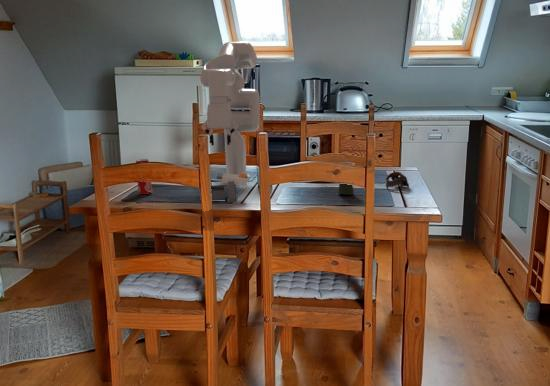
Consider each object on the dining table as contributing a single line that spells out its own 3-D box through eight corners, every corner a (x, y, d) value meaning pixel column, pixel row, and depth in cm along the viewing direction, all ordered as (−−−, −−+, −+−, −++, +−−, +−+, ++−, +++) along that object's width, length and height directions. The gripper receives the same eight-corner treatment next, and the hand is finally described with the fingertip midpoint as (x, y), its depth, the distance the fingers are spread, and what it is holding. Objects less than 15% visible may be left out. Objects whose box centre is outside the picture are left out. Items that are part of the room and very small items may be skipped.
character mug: (354, 197, 237) (354, 166, 234) (336, 197, 238) (336, 166, 235) (354, 191, 247) (354, 161, 244) (337, 191, 248) (337, 161, 245)
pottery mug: (413, 191, 248) (407, 176, 244) (393, 201, 249) (386, 186, 245) (404, 178, 259) (398, 163, 255) (385, 188, 260) (378, 173, 256)
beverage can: (144, 196, 247) (142, 161, 244) (134, 194, 251) (132, 160, 248) (155, 193, 252) (153, 159, 249) (145, 191, 256) (143, 158, 252)
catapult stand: (229, 194, 246) (228, 175, 244) (237, 194, 246) (236, 174, 245) (227, 203, 233) (226, 182, 231) (236, 202, 233) (235, 182, 231)
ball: (238, 179, 240) (239, 170, 239) (246, 180, 240) (248, 172, 239) (237, 180, 236) (239, 172, 235) (246, 182, 236) (247, 174, 236)
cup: (210, 196, 244) (209, 178, 242) (226, 196, 244) (225, 177, 242) (208, 202, 235) (207, 182, 233) (225, 201, 235) (224, 182, 233)
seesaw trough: (217, 175, 247) (218, 167, 246) (249, 179, 248) (249, 171, 247) (215, 182, 234) (216, 173, 234) (248, 185, 235) (249, 177, 234)
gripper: (240, 99, 241) (241, 143, 245) (198, 100, 241) (200, 144, 245) (239, 100, 234) (241, 145, 238) (196, 102, 234) (198, 146, 238)
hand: (220, 144), depth 242 cm, fingers open, 5 cm apart
